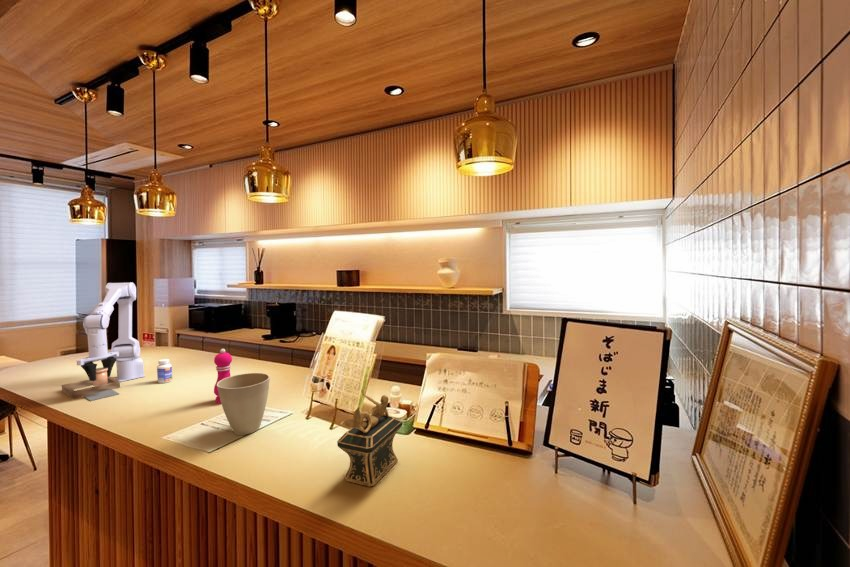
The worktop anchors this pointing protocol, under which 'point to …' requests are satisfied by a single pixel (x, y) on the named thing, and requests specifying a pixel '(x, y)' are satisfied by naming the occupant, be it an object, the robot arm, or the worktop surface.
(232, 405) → the plant pot
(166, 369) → the pill bottle
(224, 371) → the pepper mill
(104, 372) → the terracotta pot
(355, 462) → the decorative box
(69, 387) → the frame
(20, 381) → the worktop surface
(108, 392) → the slate mat
